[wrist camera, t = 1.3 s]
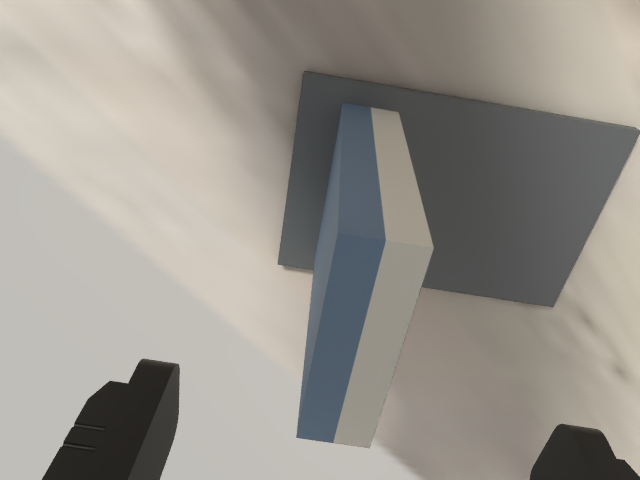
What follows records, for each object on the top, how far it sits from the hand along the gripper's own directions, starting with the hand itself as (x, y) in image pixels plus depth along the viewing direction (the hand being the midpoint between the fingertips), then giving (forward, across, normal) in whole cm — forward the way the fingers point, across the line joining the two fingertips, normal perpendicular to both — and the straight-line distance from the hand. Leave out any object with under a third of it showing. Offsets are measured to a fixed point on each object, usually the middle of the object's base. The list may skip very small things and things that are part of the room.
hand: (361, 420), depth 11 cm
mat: (+11, -3, 0) cm, 12 cm away
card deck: (+11, 0, 0) cm, 11 cm away
